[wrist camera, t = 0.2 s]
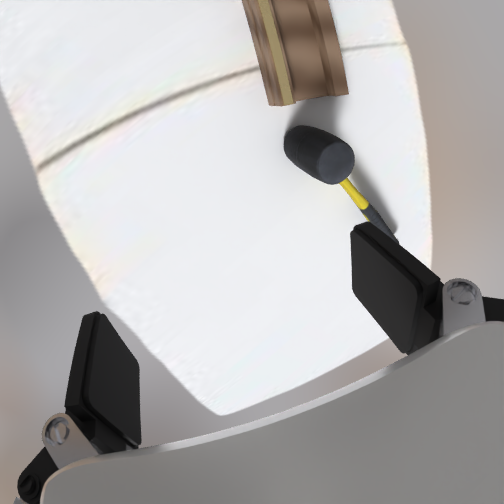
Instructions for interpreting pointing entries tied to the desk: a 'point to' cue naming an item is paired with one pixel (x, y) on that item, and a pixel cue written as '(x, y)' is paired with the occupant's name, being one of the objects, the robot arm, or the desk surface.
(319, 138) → the mallet
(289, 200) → the desk surface
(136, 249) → the desk surface
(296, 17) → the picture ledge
